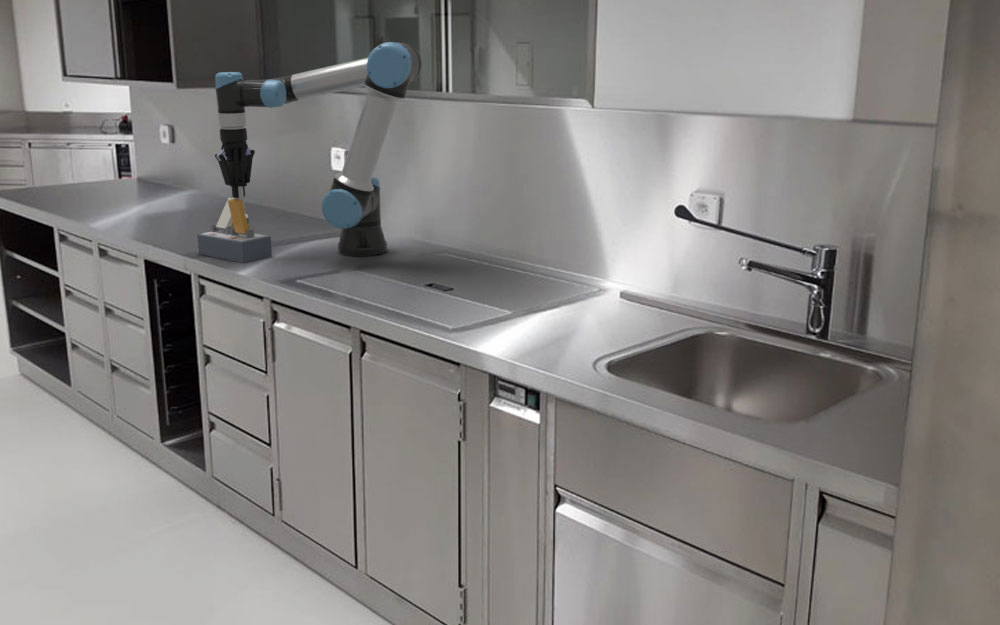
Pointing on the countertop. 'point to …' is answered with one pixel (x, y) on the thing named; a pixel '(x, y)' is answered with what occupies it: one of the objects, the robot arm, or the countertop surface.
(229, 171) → the robot arm
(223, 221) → the ivory lever
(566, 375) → the countertop surface
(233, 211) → the orange lever
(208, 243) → the breaker panel
